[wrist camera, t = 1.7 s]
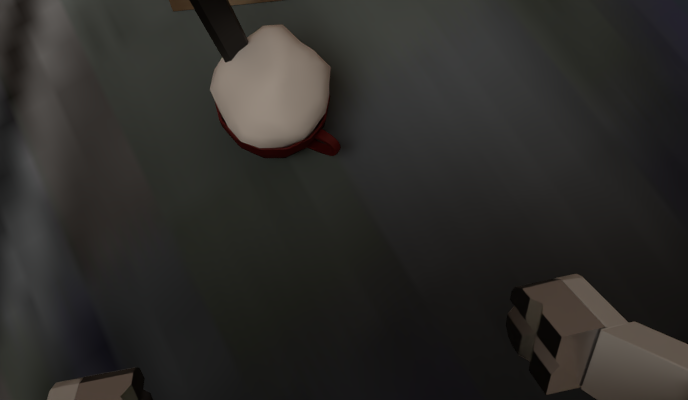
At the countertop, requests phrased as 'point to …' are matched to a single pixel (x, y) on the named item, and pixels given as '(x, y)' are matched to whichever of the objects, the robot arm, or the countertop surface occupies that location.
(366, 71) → the countertop surface
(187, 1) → the oak compartment tray
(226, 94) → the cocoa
